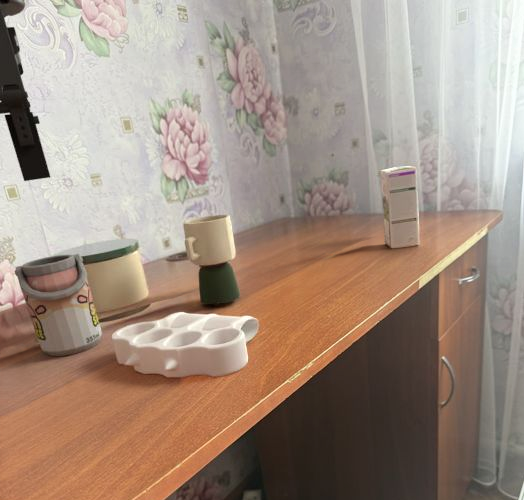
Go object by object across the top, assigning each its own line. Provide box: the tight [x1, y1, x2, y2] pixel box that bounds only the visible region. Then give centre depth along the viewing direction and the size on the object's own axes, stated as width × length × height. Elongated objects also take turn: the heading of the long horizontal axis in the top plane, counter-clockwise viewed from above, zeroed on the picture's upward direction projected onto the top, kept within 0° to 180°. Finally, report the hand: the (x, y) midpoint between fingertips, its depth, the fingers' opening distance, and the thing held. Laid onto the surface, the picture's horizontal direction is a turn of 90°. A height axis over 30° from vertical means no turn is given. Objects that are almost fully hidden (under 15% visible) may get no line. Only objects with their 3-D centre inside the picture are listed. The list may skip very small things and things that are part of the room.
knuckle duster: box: [110, 311, 260, 379], centre depth 59 cm, size 3×18×15 cm
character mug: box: [182, 214, 241, 306], centre depth 76 cm, size 11×7×13 cm, turn 148°
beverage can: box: [14, 254, 103, 357], centre depth 66 cm, size 9×8×12 cm
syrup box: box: [380, 165, 420, 249], centre depth 96 cm, size 6×6×14 cm
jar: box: [53, 238, 151, 324], centre depth 81 cm, size 13×13×10 cm
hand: (38, 179), depth 60 cm, fingers open, 13 cm apart
